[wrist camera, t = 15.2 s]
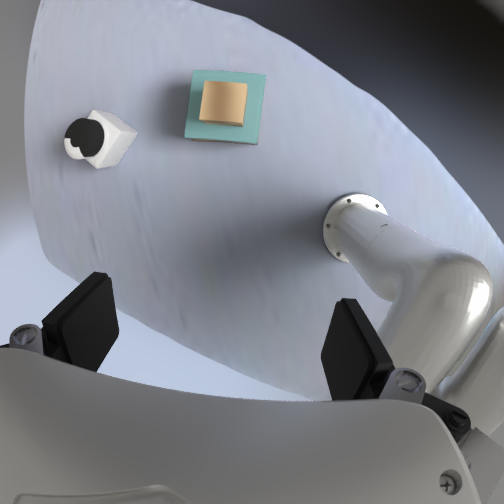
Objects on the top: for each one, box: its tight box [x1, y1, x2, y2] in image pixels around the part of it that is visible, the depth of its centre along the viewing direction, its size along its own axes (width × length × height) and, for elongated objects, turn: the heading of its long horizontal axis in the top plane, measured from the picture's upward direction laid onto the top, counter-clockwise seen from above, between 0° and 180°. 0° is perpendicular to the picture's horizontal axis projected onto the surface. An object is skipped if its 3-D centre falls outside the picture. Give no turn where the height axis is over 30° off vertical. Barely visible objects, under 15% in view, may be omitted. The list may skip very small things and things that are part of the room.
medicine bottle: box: [64, 110, 138, 169], centre depth 36 cm, size 7×7×12 cm
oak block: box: [199, 81, 248, 127], centre depth 31 cm, size 5×5×5 cm
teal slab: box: [184, 70, 266, 144], centre depth 35 cm, size 10×10×4 cm
